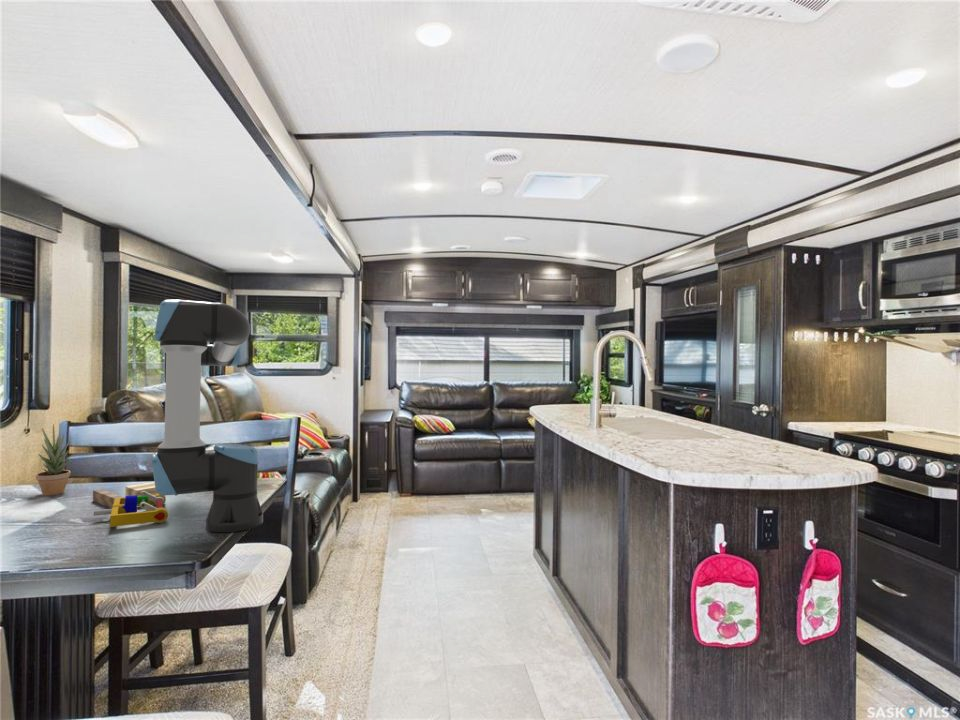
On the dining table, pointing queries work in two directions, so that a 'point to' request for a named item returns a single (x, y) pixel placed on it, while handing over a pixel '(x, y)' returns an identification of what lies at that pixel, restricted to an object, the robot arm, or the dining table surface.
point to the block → (141, 489)
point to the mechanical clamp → (127, 510)
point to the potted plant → (53, 467)
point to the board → (105, 497)
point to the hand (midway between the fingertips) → (178, 446)
